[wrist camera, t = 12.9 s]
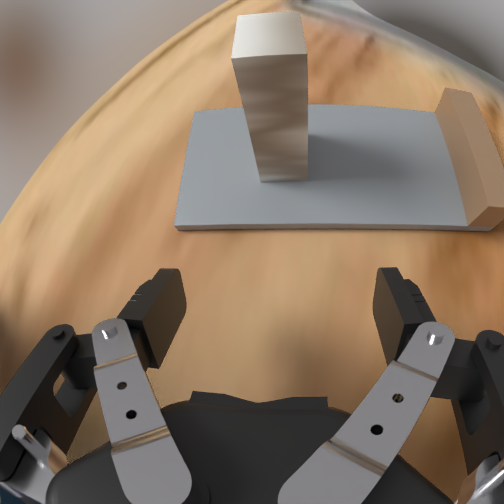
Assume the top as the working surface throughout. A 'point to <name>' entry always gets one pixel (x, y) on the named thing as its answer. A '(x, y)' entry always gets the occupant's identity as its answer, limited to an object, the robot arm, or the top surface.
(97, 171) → the top surface
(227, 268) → the top surface
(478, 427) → the robot arm
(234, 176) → the underlay board
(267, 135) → the beige long rectangular block
